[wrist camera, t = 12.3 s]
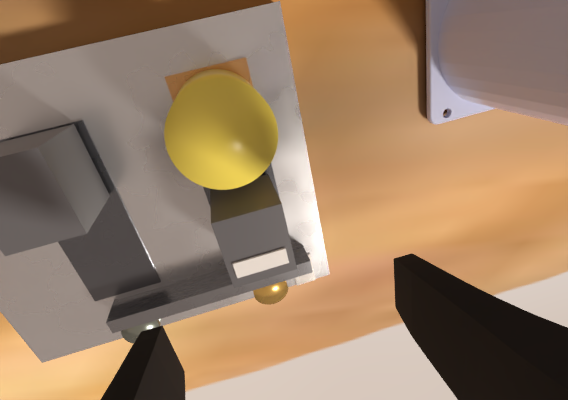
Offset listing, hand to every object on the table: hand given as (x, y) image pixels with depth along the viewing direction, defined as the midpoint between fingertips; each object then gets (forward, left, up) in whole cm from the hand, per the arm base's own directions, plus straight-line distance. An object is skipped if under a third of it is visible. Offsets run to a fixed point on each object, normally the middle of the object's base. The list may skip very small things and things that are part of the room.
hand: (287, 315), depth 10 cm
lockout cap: (0, -5, -8) cm, 10 cm away
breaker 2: (0, +1, -8) cm, 8 cm away
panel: (+5, -1, -10) cm, 11 cm away
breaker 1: (+8, -4, -8) cm, 12 cm away
